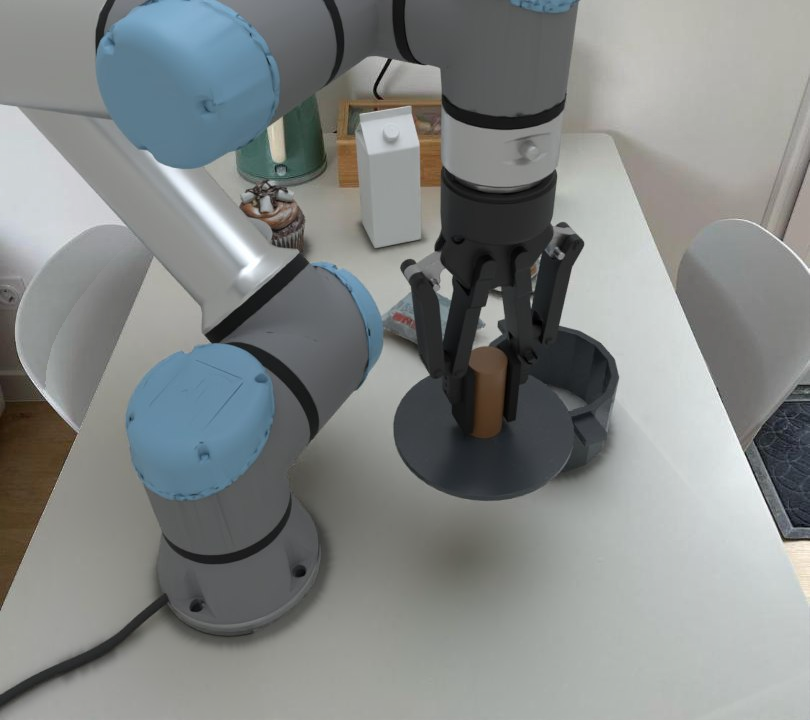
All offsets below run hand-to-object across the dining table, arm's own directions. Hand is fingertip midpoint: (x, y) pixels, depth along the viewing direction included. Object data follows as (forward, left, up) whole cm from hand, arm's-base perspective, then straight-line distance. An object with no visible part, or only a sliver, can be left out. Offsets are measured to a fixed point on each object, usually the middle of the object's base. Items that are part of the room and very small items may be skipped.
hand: (483, 416), depth 68 cm
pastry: (+23, +38, -17) cm, 48 cm away
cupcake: (-6, +56, -17) cm, 59 cm away
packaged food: (+7, +30, -17) cm, 35 cm away
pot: (+13, +11, -17) cm, 24 cm away
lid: (0, 0, -2) cm, 2 cm away
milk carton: (+11, +54, -17) cm, 58 cm away
